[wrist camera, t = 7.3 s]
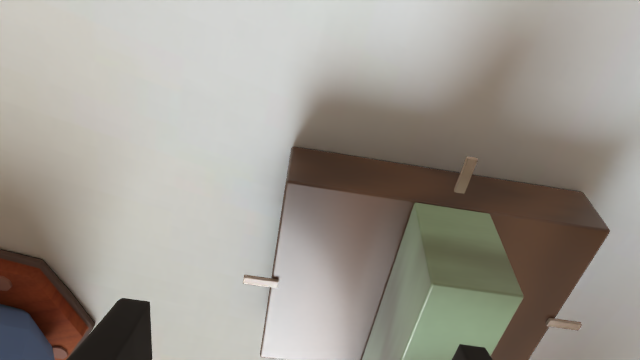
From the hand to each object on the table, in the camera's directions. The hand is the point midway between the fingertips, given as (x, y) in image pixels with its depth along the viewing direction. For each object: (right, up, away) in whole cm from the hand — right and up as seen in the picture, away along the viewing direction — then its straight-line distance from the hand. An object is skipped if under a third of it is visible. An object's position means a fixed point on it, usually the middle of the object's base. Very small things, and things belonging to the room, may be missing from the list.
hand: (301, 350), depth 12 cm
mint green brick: (+4, -1, +9) cm, 10 cm away
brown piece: (+4, 0, +11) cm, 12 cm away
